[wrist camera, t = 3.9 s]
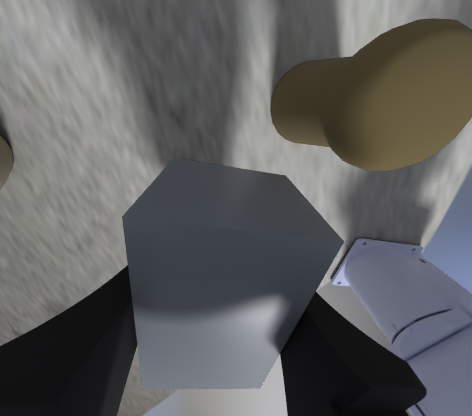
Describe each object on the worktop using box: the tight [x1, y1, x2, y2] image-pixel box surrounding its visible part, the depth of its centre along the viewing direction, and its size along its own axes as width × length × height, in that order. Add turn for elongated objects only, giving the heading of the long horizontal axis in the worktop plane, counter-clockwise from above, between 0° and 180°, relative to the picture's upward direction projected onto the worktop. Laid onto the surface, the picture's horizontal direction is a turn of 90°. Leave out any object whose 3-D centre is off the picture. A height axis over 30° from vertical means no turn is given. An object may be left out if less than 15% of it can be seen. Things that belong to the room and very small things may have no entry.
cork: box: [271, 19, 472, 171], centre depth 11 cm, size 6×6×11 cm
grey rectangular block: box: [122, 158, 344, 390], centre depth 10 cm, size 6×11×6 cm, turn 170°
